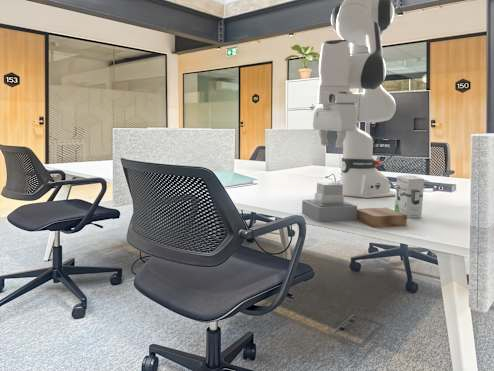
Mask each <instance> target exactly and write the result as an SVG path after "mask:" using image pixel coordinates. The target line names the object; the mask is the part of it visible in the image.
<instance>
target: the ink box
mask: <svg viewBox="0 0 494 371" xmlns="http://www.w3.org/2000/svg"><path fill="white" fill-rule="evenodd" d="M424 186H425V179H424V178H422V177H419V176H417V175H413V174H411V175H410V174H409V175H408V174H407V175H406V174H405V175H397V178H396V191H395V193H396V195H395V201H394V202H395V204H394V210H395V211H397V212H400V213H403V214H406V215H407V219H408V218H410V219H411V218H414V219H417V218H418V219H419V218H422V212H423V200H424V199H423V198H424Z"/></svg>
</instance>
